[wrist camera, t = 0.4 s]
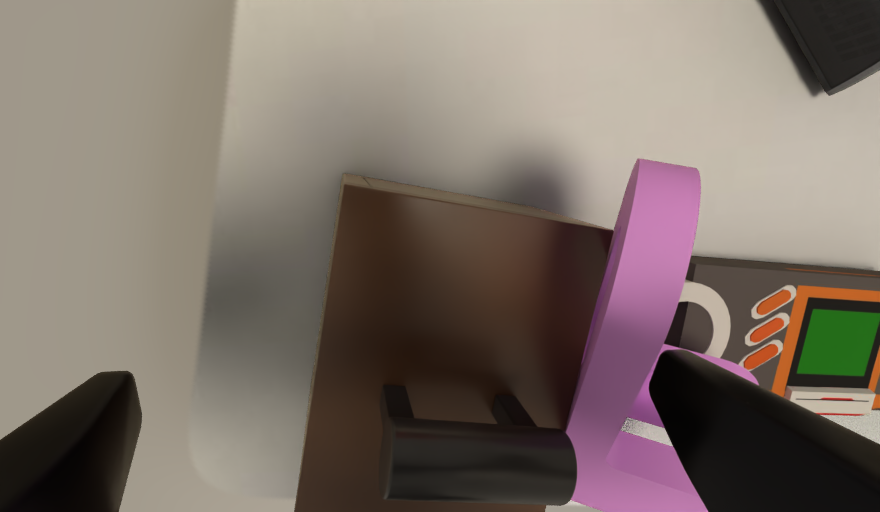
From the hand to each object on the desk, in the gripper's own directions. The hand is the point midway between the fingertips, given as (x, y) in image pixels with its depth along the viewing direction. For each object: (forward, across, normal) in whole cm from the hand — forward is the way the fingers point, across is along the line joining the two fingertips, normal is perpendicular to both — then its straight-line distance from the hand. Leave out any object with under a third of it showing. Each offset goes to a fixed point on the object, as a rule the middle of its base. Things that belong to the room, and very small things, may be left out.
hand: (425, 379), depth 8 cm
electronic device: (+11, -19, +7) cm, 23 cm away
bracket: (+6, -7, +4) cm, 9 cm away
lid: (+6, -2, +4) cm, 7 cm away
